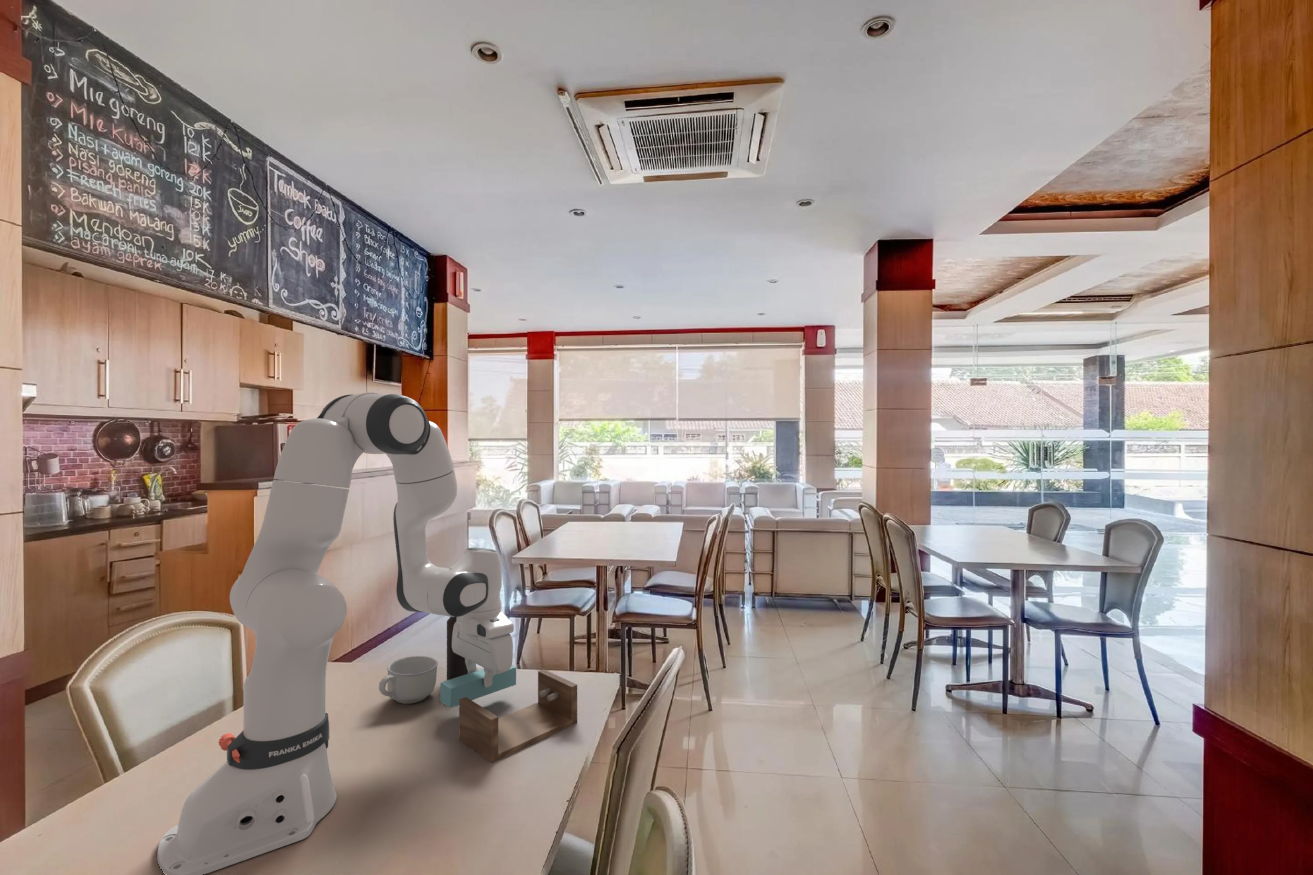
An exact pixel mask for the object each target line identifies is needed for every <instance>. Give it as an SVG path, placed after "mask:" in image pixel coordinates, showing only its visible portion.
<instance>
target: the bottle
mask: <svg viewBox="0 0 1313 875" xmlns="http://www.w3.org/2000/svg"><path fill="white" fill-rule="evenodd" d="M456 620H457V617H449V618H448V619H447V620H446V681H447V680H450V679H453V678H456V677H460V676H463V675H466V674H468V670H467V666H466V663H465V658H464V657H462V656H460V655H458V654H456V653H454V652H453V650H452V634H453V627H454V624H455V622H456Z"/></svg>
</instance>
